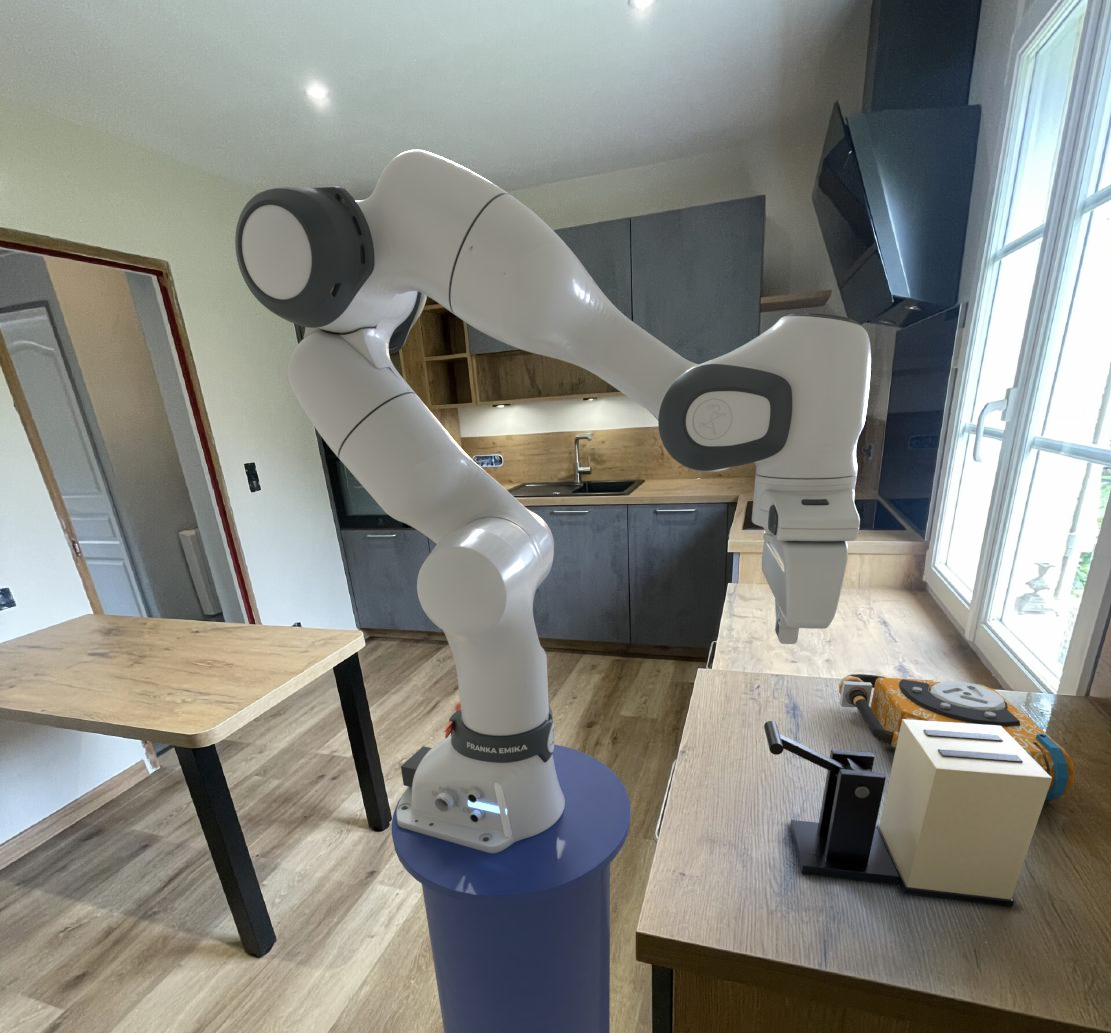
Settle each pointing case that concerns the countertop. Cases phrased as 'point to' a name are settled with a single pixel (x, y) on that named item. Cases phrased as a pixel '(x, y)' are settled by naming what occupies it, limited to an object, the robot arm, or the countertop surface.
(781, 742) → the lever
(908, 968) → the countertop surface
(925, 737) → the toaster
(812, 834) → the lever bracket
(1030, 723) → the device
